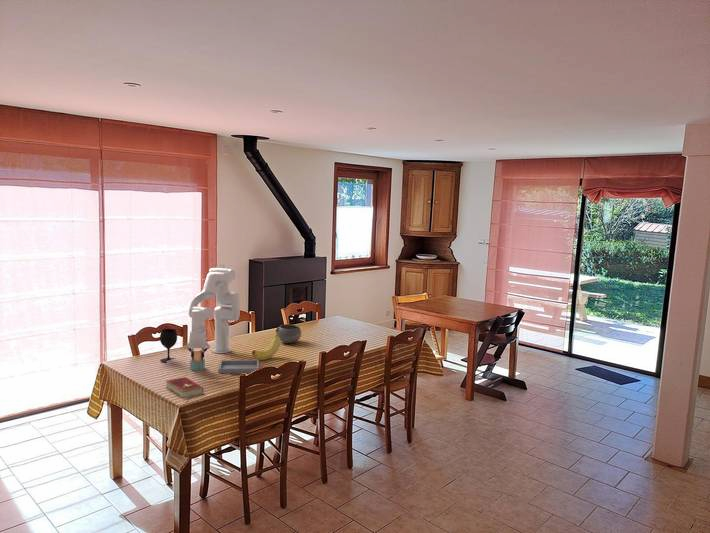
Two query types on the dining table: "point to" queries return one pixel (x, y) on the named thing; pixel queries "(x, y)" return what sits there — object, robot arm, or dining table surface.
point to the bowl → (289, 333)
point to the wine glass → (168, 341)
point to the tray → (238, 366)
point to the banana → (268, 349)
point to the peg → (197, 355)
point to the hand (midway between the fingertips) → (197, 358)
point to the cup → (197, 365)
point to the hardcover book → (184, 386)
